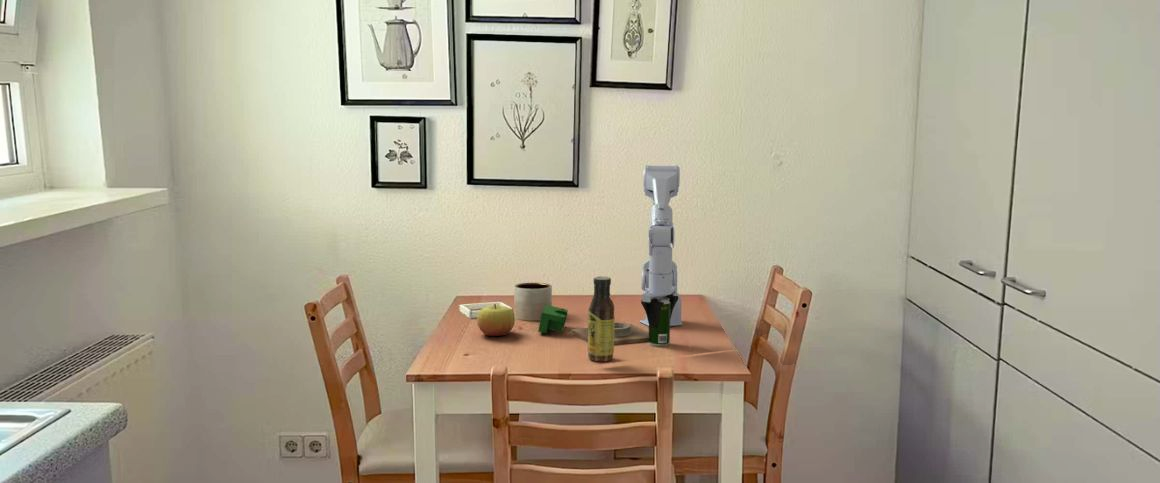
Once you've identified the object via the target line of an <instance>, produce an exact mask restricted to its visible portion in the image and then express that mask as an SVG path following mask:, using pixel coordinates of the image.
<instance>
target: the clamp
mask: <svg viewBox="0 0 1160 483" xmlns="http://www.w3.org/2000/svg"><path fill="white" fill-rule="evenodd" d="M568 312H569V310H568V309H566V308H562V307H557V306H554V305H552V306H549V305H547V306H546V308H545V309H544V311H543V312H542V315H541V320H540V321H539V325H538V333H542V334H547V333H548V331H549V330H552V331H555V332H559V333H562V332H563V329H565V325H566V321H567V316H568Z"/></svg>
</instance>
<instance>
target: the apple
mask: <svg viewBox="0 0 1160 483" xmlns="http://www.w3.org/2000/svg"><path fill="white" fill-rule="evenodd" d="M479 311H480V312H479V314H478V316H477V318H476V319H477V320H476V321H477V326H478V328H479V330H480V332H482V333H483V334H484V335H486V336H488V337H489V336H491V337H498V336H499V337H500V336H504V335H507V334H509V333H510V332H511V331H512V330H513V328H514V326H515V321H516V318H515V316H514V310H513V311H512V310H511V309H510V308H508V307H505V306H496V304H494V306H489V307H485V308H483V309H480V310H479Z"/></svg>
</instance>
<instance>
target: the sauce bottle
mask: <svg viewBox="0 0 1160 483" xmlns="http://www.w3.org/2000/svg"><path fill="white" fill-rule="evenodd" d="M611 282H612V279H611V277H608V276H605V275H604V276H603V275H602V276H595V277H594V278H593V285H594V286H593V288H594V289H593V290H594V292H593V296H592V298H591V302H590V304H589V308H588V312H587V316H588V319H587V320H588V322H587V328H588V342H587V354H588V355H587V356H588V359H589V360H591V361H593V362H610V361H612V360H613V358H614V352H615V349H614V348H615V345H614V322H615V304H614V302H613V300H612V299H611V297H610V296H611V293H610V292H611V284H612V283H611Z"/></svg>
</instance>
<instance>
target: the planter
mask: <svg viewBox="0 0 1160 483" xmlns="http://www.w3.org/2000/svg"><path fill="white" fill-rule="evenodd" d="M513 288H514V290H513V291H514V293H513V294H514V295H513V296H514V299H513V300H514V301H513V302H514V304H513V313H514V316H515V320H520V321H527V322H540V320H541V315H542V312H543V311H544V309H545V308H546V306H547V305H549V306H553V302H552V301H553V300H552V298H553V295H552V294H553V293H552V292H553V291H552V290H553V289H552V288H553V287H552V285H551V284H549V283H546V282H545V283H544V282H543V283H542V282H522V283H517V284H515V285H514V286H513Z"/></svg>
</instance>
